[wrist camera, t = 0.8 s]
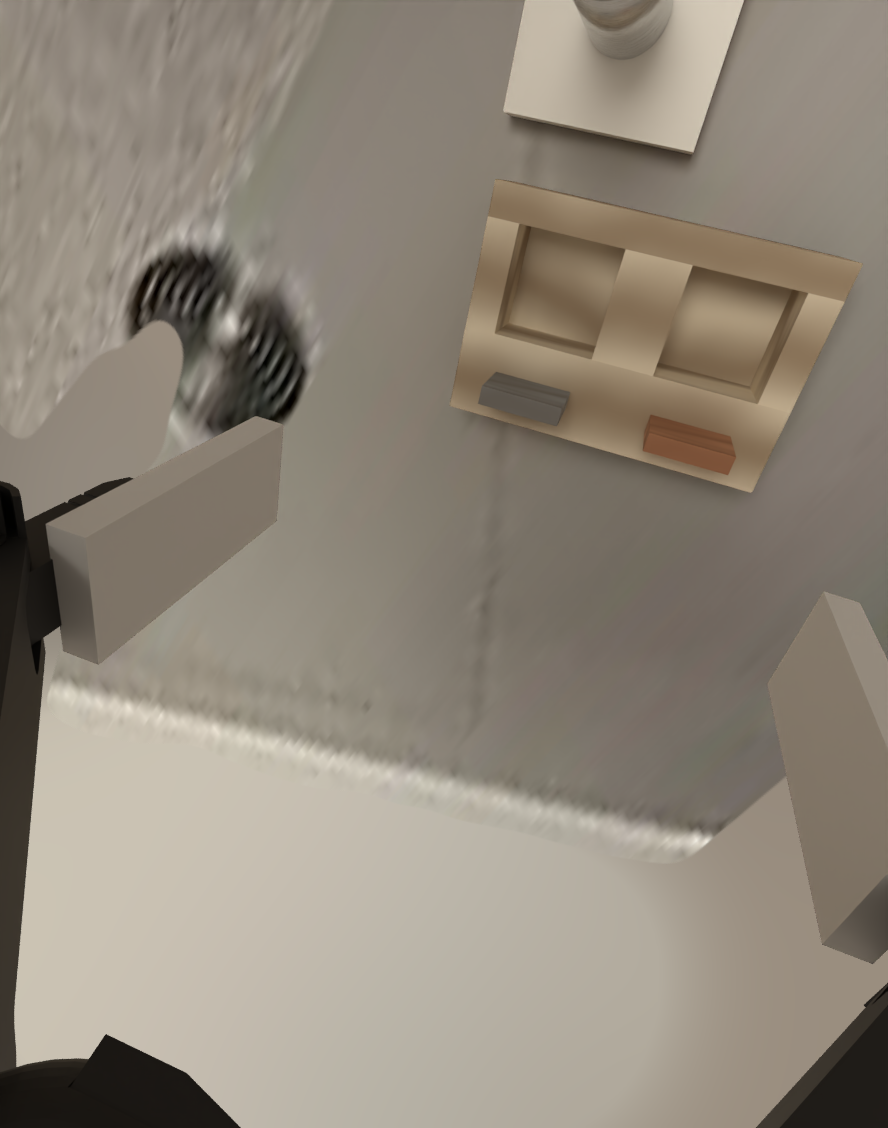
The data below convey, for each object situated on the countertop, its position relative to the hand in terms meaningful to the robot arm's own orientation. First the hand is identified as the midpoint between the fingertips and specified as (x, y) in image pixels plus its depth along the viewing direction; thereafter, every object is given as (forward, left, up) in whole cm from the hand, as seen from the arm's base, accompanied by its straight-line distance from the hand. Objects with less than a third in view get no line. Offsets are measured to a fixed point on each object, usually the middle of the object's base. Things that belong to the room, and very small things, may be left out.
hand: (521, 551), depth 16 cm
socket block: (-1, +1, -29) cm, 29 cm away
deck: (-15, -4, -29) cm, 33 cm away
